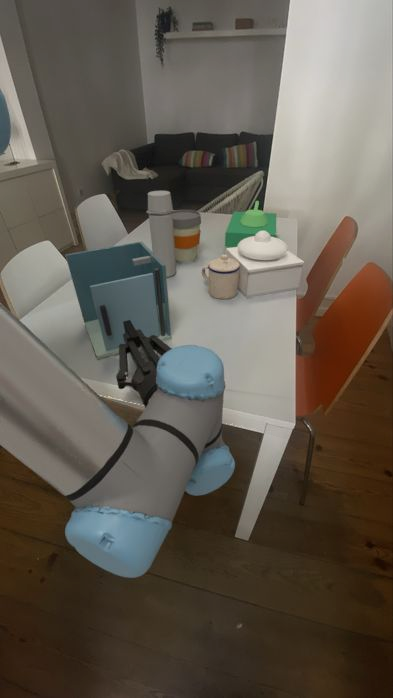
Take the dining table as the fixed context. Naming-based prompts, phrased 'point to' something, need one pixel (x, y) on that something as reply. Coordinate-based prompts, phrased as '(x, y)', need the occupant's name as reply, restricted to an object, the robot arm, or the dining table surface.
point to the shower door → (125, 308)
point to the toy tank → (249, 225)
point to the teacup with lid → (222, 277)
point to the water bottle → (162, 228)
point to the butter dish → (265, 265)
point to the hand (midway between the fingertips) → (127, 326)
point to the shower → (113, 267)
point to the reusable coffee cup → (186, 234)
